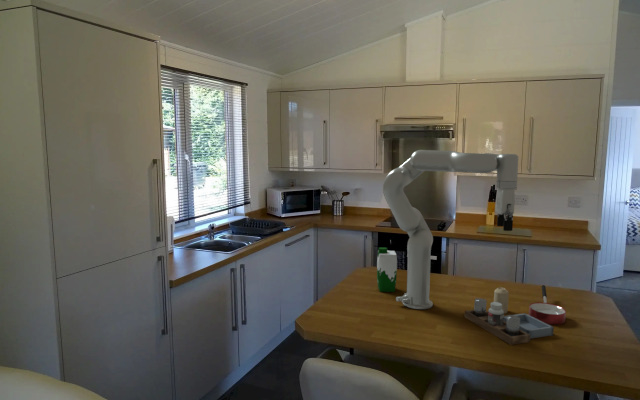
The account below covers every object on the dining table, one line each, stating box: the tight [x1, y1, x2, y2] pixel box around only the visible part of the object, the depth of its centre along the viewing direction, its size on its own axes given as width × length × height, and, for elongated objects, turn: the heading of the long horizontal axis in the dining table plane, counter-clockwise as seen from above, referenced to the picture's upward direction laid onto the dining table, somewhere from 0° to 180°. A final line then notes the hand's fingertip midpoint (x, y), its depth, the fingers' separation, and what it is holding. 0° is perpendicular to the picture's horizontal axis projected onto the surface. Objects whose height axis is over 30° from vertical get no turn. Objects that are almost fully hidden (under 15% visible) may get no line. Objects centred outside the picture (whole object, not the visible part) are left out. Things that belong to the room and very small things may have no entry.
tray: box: [503, 312, 555, 340], centre depth 169 cm, size 11×14×3 cm
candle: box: [493, 286, 510, 315], centre depth 186 cm, size 6×6×10 cm
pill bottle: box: [487, 301, 505, 326], centre depth 169 cm, size 5×5×10 cm
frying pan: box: [528, 284, 567, 326], centre depth 188 cm, size 32×13×6 cm, turn 163°
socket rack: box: [464, 309, 531, 346], centre depth 169 cm, size 8×26×2 cm, turn 18°
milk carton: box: [376, 246, 398, 293], centre depth 212 cm, size 9×9×20 cm
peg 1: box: [473, 297, 487, 317], centre depth 177 cm, size 4×4×8 cm
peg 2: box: [506, 314, 520, 337], centre depth 160 cm, size 4×4×8 cm
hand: (504, 228), depth 179 cm, fingers open, 9 cm apart
